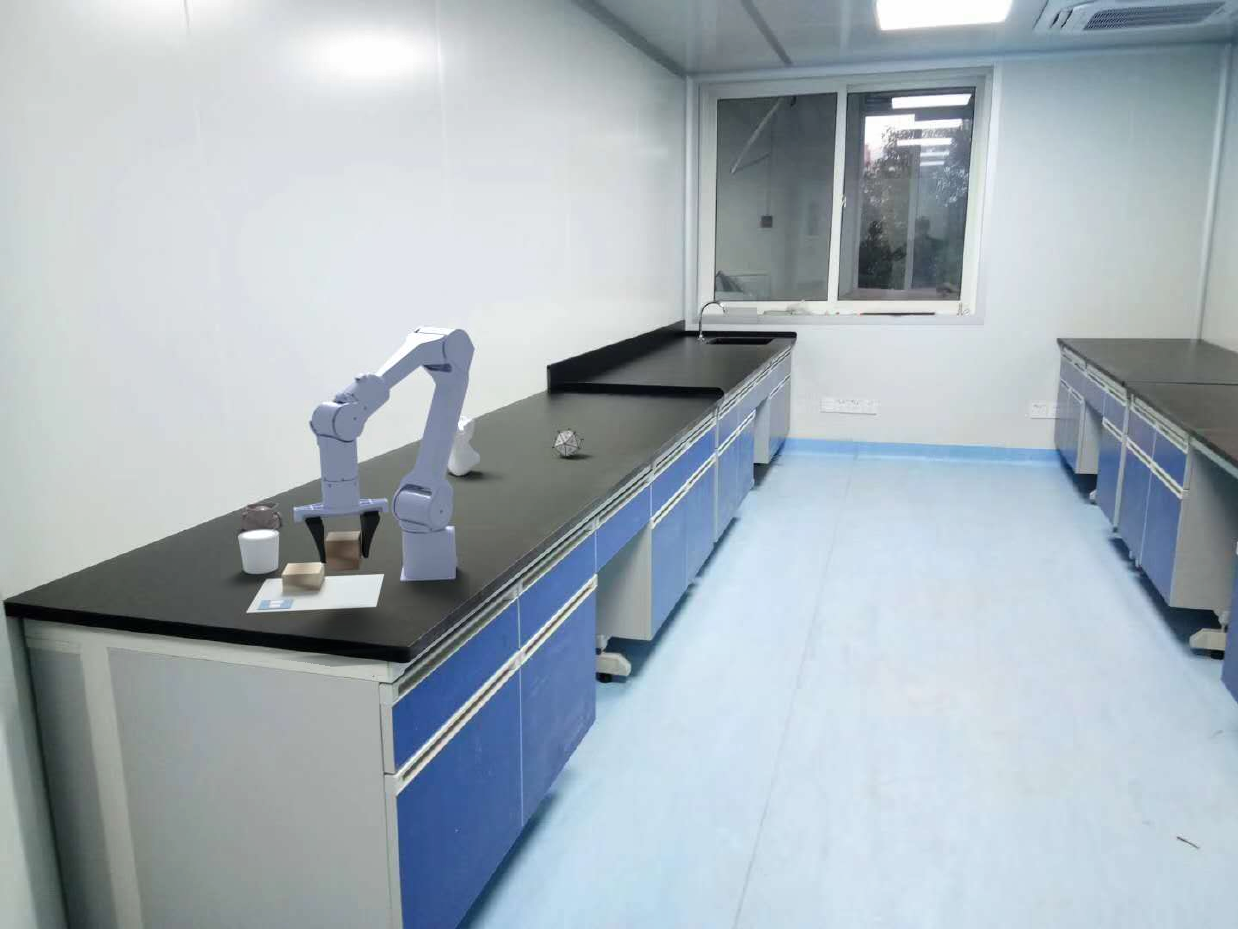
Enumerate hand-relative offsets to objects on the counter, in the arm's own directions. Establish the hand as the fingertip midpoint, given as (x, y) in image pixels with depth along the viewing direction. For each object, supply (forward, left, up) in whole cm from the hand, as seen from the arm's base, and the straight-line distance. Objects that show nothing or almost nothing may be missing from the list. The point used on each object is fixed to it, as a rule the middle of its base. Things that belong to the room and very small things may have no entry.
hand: (344, 559), depth 154 cm
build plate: (+5, -4, -8) cm, 10 cm away
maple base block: (+8, -8, -7) cm, 14 cm away
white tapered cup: (+17, -18, -8) cm, 26 cm away
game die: (-48, -109, -8) cm, 120 cm away
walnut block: (0, 0, -1) cm, 1 cm away
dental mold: (+22, -46, -8) cm, 52 cm away
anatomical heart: (-18, -90, -8) cm, 93 cm away
